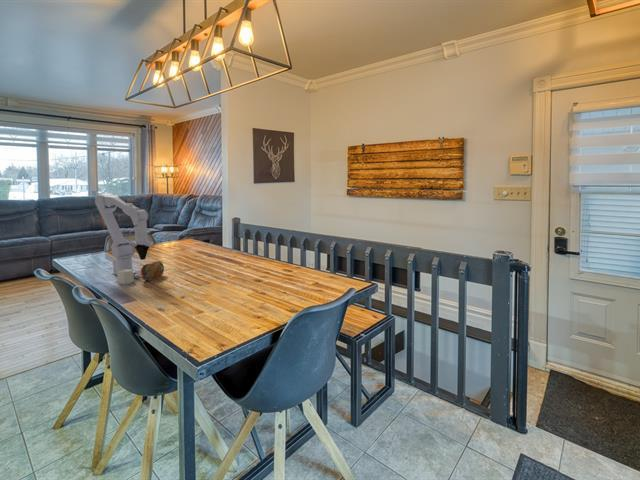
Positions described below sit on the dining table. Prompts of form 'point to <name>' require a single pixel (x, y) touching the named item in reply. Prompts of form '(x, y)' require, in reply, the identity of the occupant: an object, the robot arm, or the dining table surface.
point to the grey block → (125, 276)
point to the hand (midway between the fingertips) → (143, 259)
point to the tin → (152, 270)
